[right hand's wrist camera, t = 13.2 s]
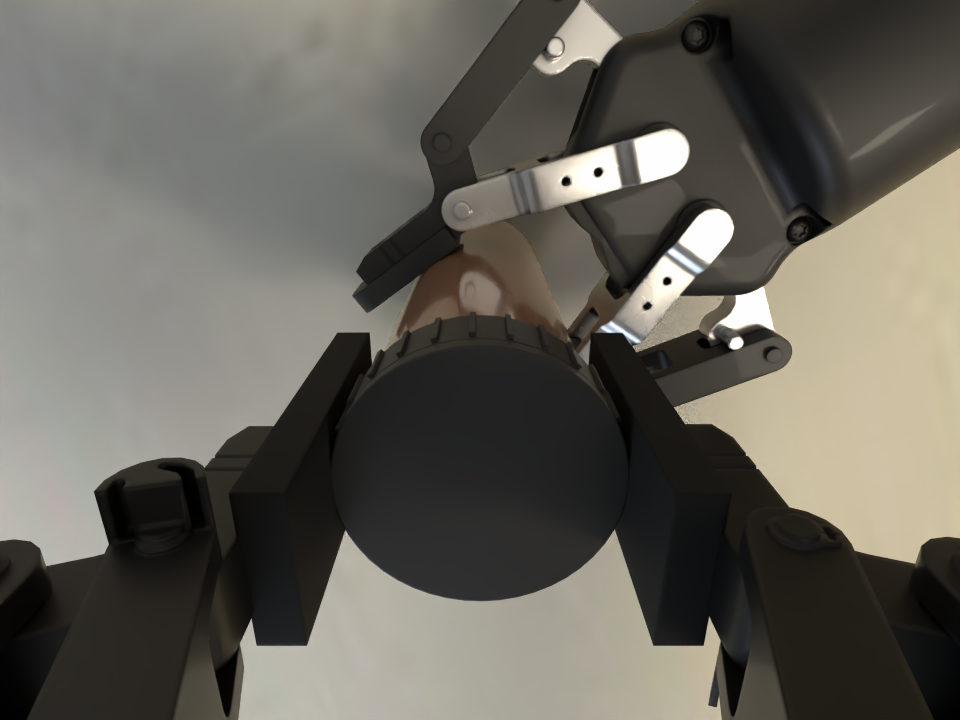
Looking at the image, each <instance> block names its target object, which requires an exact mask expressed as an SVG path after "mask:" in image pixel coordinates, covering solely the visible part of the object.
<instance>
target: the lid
mask: <svg viewBox="0 0 960 720" xmlns="http://www.w3.org/2000/svg"><path fill="white" fill-rule="evenodd" d="M346 404H347V405H346V407H345V409H344V411H343V413H342V416H341V418H340V420H339V422H338V424H337V426H336V428H335V431H334V434H337V435H336V438H335V442H334V446H333V450H332V454H331V476H332V485H333V494H334V502H335V507H336V509H337V512H338V515H339V517H340V520H341V522H342V524H343V525H344V527H345V529H346V531H347V533H348V535H349V536H350V537H351V539H352V540H353V541H354V543H355V544H356V546H357V547H358V548H359V549H360V550H361V551H362V552H363V553H364V554H365V556H366V557H367V558H368V559H369V560H370V561H372V562H373V563H374V564H375V565H376V566H378V567H379V568H380V569H381V570H383V571H384V572H386V573H387V574H389V575H390V576H392V577H393V578H395V579H397V580H398V581H400V582H402V583H404V584H406V585H408V586H410V587H413V588H415V589H418V590H421V591H423V592H426V593H429V594H433V595H437V596H441V597H445V598H450V599H457V600H464V601H493V600H503V599H509V598H515V597H520V596H523V595H527V594H530V593H534V592H537V591H539V590H542V589H544V588H547V587H549V586H552V585H554V584H555V583H557V582H559V581H561V580H563V579H565V578H567V577H568V576H570V575H571V574H572V573H574V572H575V571H577V570H578V569H580V568H581V567H582V566H583V565H584V564H586V563H587V562H588V561H589V560H590V559H591V558H592V557H594V555H595V554H596V553H597V552H598V551H599V550H600V549H601V548H602V546H603V545H604V544H605V543H606V541H607V540H608V538H609V537H610V535H611V534H612V532H613V531H614V529H615V527H616V525H617V523H618V521H619V519H620V517H621V514H622V511H623V508H624V505H625V502H626V497H627V488H628V479H629V458H628V451H627V447H626V443H625V440H624V437H623V433H622V431H621V429H620V426H619V424H618V423H619V422H622V420H621V417H620V415H619V413H618V411H617V409H616V407H615V405H614V403H613V400H612V398H611V396H610V394H609V392H608V390H607V391H606V390H605V388H604V386H603V384H602V382H601V379H600V377H599V375H598V373H597V371H596V369H595V367H594V366H593V364H590V365H589V366H588V364H587V363H586V362H585V361H584V360H583V359H582V358H581V357H580V356H579V354H578V353H577V352H576V351H575V348H574V346H573V344H572V343H571V342H570V341H568V342H567V343H565V342H564V341H562V340H560V339H559V338H557V337H556V336H554V335H552V334H551V333H549V332H547V331H546V330H545V327H544V326H543V325H541V324H539V325H538V327H536V326H534V325H532V324H529V323H526V322H522V321H519V320H516V319H512V318H511V315H510V314H505V317H500V316H489V315H476V312H470V316H459V317H454V318H449V319H444V320H441V317H438V318H435V321H434V323H431V324H428V325H425V326H423V327H421V328H419V329H417V330H415V331H413V332H411V333H410V331H409V330H407V331H405V332H404V333H403V335H402V338H401V339H399V340H398V341H396V342H395V343H394V344H392V345H391V346H390V347H389V348H388V349H387V350H386V351H383V350H382V349H381V350H380V351H378V353H377V355H376V357H375V359H374V361H373V364H372V366H371V367H370V368H369V369H368V371H367V373H366V374H365V376H364V375H362V374H360V375H359V377H358V379H357V381H356V383H355V385H354V388H353V390H352V392H351V394H350V396H349V398H348V400H347V402H346Z"/></svg>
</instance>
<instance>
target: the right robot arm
mask: <svg viewBox="0 0 960 720" xmlns="http://www.w3.org/2000/svg"><path fill="white" fill-rule="evenodd" d="M590 364H593V366H594V367H595V369H596V371H597V373H598V375H599V377H600V379H601V382H602V384H603V386H604V388H605V390H606V391H607V390H608V392H609V394H610V396H611V398H612V400H613V403H614V405H615V407H616V409H617V411H618V413H619V415H620V417H621V420H622V422H619V423H618V424H619V426H620V429H621V431H622V433H623V437H624V440H625V443H626V447H627V451H628V458H629V479H628V488H627V497H626V502H625V505H624V508H623V511H622V514H621V517H620V519H619V521H618V523H617V525H616V527H615V531H616V534H617V537H618V540H619V543H620V546H621V549H622V552H623V555H624V558H625V561H626V564H627V567H628V570H629V573H630V576H631V579H632V582H633V585H634V588H635V591H636V594H637V597H638V600H639V603H640V606H641V609H642V612H643V615H644V618H645V621H646V625H647V628H648V631H649V634H650V637H651V640H652V643H653V646H704V641H705V635H706V630H707V625H708V619H709V616H710V618H711V621H712V623H713V625H714V627H715V629H716V631H717V634H718V636H719V638H720V640H721V642H720V647H719V652H718V657H717V662H716V667H715V672H714V677H713V682H712V687H711V692H710V698H709V706H713V707H717V702H718V697H720V706H721V715H722V720H960V538H952V537H942V538H934V539H930V540H929V541H927V542H926V543H925V544H923V545H922V546H921V549H920V552H919V555H918V558H917V560H916V563H915V564H913V563H908V562H903V561H898V560H893V559H888V558H883V557H879V556H874V555H869V554H865V553H861V552H857V551H854V548H853V546H852V544H851V543H850V541H849V540H848V539H847V538H846V536H845V535H844V534H843V532H842V531H841V530H839V529H838V528H836V527H835V526H834V525H832V524H831V523H829V522H828V521H827V520H825V519H822V518H820V517H818V516H816V515H813V514H811V513H809V512H806V511H802V510H798V509H794V508H790V507H789V506H788V505H787V504H786V503H785V501H784V500H783V499H782V498H781V496H780V495H779V494H778V493H777V491H776V490H775V489H774V488H773V486H772V485H771V484H770V483H769V481H768V480H767V479H766V478H765V476H764V475H763V474H762V473H761V471H760V470H759V469H756V465H755V464H754V463H753V462H752V460H751V459H750V458H749V457H748V456H746V453H745V452H744V450H743V449H742V448H741V447H740V445H739V444H738V443H737V442H736V440H735V439H734V438H733V437H731V436H730V435H728V434H727V433H725V432H723V431H722V430H720V429H719V428H717V427H715V426H714V425H712V424H685V423H684V422H683V420H682V419H681V418H680V416H679V415H678V413H677V412H676V410H675V409H674V407H673V406H672V404H671V403H670V401H669V400H668V398H667V397H666V395H665V394H664V393H663V391H662V390H661V388H660V387H659V385H658V384H657V382H656V381H655V379H654V378H653V376H652V375H651V373H650V372H649V370H648V369H647V368H646V366H645V365H644V363H643V362H642V360H641V359H640V357H639V356H638V354H637V353H636V351H635V350H634V348H633V347H632V346H631V344H630V343H629V341H628V340H627V338H626V337H625V335H624V334H623V333H591V337H590V350H589V364H588V366H589V365H590ZM371 366H372V359H371V346H370V333H337V334H336V336H335V337H334V339H333V340H332V342H331V343H330V345H329V346H328V348H327V349H326V350H325V352H324V353H323V355H322V356H321V358H320V359H319V361H318V362H317V364H316V365H315V367H314V368H313V370H312V371H311V373H310V374H309V375H308V377H307V378H306V380H305V381H304V383H303V384H302V386H301V387H300V389H299V390H298V392H297V393H296V395H295V396H294V397H293V399H292V400H291V402H290V403H289V405H288V406H287V408H286V409H285V411H284V412H283V414H282V415H281V417H280V418H279V420H278V421H277V422H276V424H275V425H274V426H248V427H247V428H245V429H244V430H242V431H240V432H239V433H237V434H236V435H234V436H232V437H231V438H229V439H228V440H227V441H226V442H225V443H224V445H223V446H222V447H221V448H220V450H219V451H218V452H217V453H216V455H215V458H212V460H211V461H210V462H209V463H208V465H207V466H206V467H205V468H204V467H203V466H202V465H201V464H199V463H198V462H197V461H195V460H190V459H185V458H161V459H156V460H151V461H147V462H142V463H139V464H136V465H134V466H131V467H128V468H126V469H123V470H121V471H119V472H117V473H116V474H114V475H112V476H111V477H109V478H107V479H106V480H104V481H103V482H102V484H101V485H100V486H99V487H98V488H97V489H96V490H95V491H94V494H95V497H96V501H97V504H98V508H99V511H100V515H101V518H102V522H103V525H104V528H105V532H106V535H107V539H108V542H109V545H108V547H107V550H106V552H105V554H102V555H98V556H94V557H90V558H85V559H80V560H75V561H70V562H65V563H60V564H55V565H50V566H46V565H45V562H44V559H43V556H42V553H41V550H40V548H39V547H37V546H36V545H35V544H33V543H32V542H30V541H22V540H6V541H0V720H238V716H239V708H240V699H241V690H242V682H243V673H244V664H243V658H242V652H241V647H240V642H241V640H242V637H243V635H244V633H245V631H246V629H247V627H248V624H249V622H250V620H251V618H252V623H253V628H254V633H255V639H256V644H257V646H307V644H308V641H309V638H310V635H311V632H312V629H313V626H314V623H315V620H316V617H317V614H318V610H319V607H320V604H321V601H322V598H323V595H324V592H325V589H326V586H327V583H328V580H329V577H330V574H331V571H332V568H333V565H334V562H335V559H336V556H337V553H338V550H339V547H340V544H341V541H342V538H343V535H344V532H345V527H344V525H343V524H342V522H341V520H340V517H339V515H338V512H337V509H336V507H335V502H334V494H333V485H332V476H331V454H332V450H333V446H334V442H335V438H336V435H337V434H334V431H335V428H336V426H337V424H338V422H339V420H340V418H341V416H342V413H343V411H344V409H345V407H346V405H347V404H346V402H347V400H348V398H349V396H350V394H351V392H352V390H353V388H354V385H355V383H356V381H357V379H358V377H359V375H360V374H362V375H364V376H365V374H366V373H367V371H368V369H369V368H370V367H371Z"/></svg>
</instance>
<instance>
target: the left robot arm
mask: <svg viewBox="0 0 960 720" xmlns="http://www.w3.org/2000/svg"><path fill="white" fill-rule="evenodd" d="M573 63H585V64H588V65H590V66H591V67H592V68H593V72H592V75H591V78H590V80H589V83H588V86H587V89H586V92H585V95H584V97H583V100H582V103H581V106H580V109H579V112H578V114H577V117H576V120H575V123H574V126H573V129H572V131H571V134H570V137H569V140H568V143H567V146H566V148H565V149H562V150H559V151H555V152H552V153H549V154H545V155H542V156H539V157H535V158H532V159H529V160H526V161H522V162H519V163H516V164H514V165H512V166H509V167H506V168H503V169H500V170H497V171H493V172H490V173H487V174H484V175H480V176H477V177H476V173H475V170H474V166H473V163H472V159H471V155H470V152H469V148H468V146H469V144H470V143H471V142H472V141H473V139H474V138H475V137H476V135H477V134H478V133H479V132H480V130H481V129H482V128H483V126H484V125H485V124H486V123H487V121H488V120H489V119H490V118H491V116H492V115H493V114H494V112H495V111H496V110H497V109H498V107H499V106H500V105H501V103H502V102H503V101H504V100H505V98H506V97H507V96H508V95H509V93H510V92H511V91H512V89H513V88H514V87H515V86H516V84H517V83H518V82H519V81H520V79H521V78H522V77H523V75H524V74H525V73H526V72H527V70H528V69H529V68H530V67H531V68H532V69H533V70H534V71H535V72H536V73H537V74H539V75H541V76H544V77H552V76H555V75H557V74H559V73H561V72H562V71H564V70H565V69H566V68H567V67H568V66H569V65H571V64H573ZM421 148H422V151H423V153H424V155H425V157H426V159H427V162H428V165H429V168H430V172H431V175H432V178H433V182H434V188H435V191H434V197H433V200H432V202H431V203H430V204H429V205H428V206H426V207H425V208H424V209H423V210H421V211H420V212H419V213H417V214H416V215H415V216H413V217H412V218H411V219H410V220H408V221H407V222H406V223H404V224H403V225H402V226H400V227H399V228H398V229H397V230H395V231H394V232H393V233H391V234H390V235H389V236H387V237H386V238H385V239H384V240H382V241H381V242H380V243H378V244H377V245H376V246H374V247H373V248H372V249H371V250H370V251H369V252H368V254H367V255H366V256H365V257H364V259H363V261H362V262H361V264H360V266H359V268H358V270H357V271H356V272H357V273H358V275H359V276H360V277H361V278H362V280H363V281H364V282H362V283H361V285H360V286H359V287H358V288H357V290H356V291H355V292H354V294H353V295H352V296H353V297H354V298H355V300H356V301H357V302H358V303H359V304H360V306H361V307H362V308H363V309H364V310H365V312H366V313H368V312H370V311H372V310H373V309H374V308H376V307H377V306H379V305H380V304H381V303H383V302H384V301H385V300H387V299H388V298H389V297H391V296H392V295H393V294H395V293H396V292H398V291H399V290H400V289H402V288H403V287H404V286H406V285H407V284H408V283H410V282H411V281H412V280H414V279H415V278H416V277H418V276H419V275H421V274H422V273H423V272H425V271H426V270H427V269H428V268H429V267H431V266H432V265H434V264H435V263H436V262H438V261H439V260H441V259H442V258H444V257H445V256H446V255H448V254H449V253H450V252H452V251H453V250H454V249H456V248H457V247H458V246H459V244H460V239H461V235H462V234H463V233H464V232H466V231H468V230H472V229H475V228H479V227H482V226H485V225H489V224H492V223H496V222H499V221H502V220H506V219H509V218H513V217H516V216H520V215H524V214H534V213H539V212H543V211H546V210H550V209H553V208H557V207H560V206H563V205H564V207H565V208H566V210H567V211H568V213H569V214H570V216H571V217H572V218H573V219H574V220H575V221H576V222H577V223H578V224H579V225H580V226H581V227H582V228H583V229H584V230H585V231H587V232H588V233H589V234H590V236H591V239H592V242H593V245H594V249H595V252H596V255H597V257H598V258H599V260H600V261H601V263H602V264H603V266H604V267H605V269H606V270H607V271H606V273H605V274H604V275H603V277H602V278H601V279H600V281H599V282H598V283H597V285H596V286H595V287H594V289H593V290H592V292H591V294H590V296H589V299H588V302H587V304H586V306H585V308H584V309H583V310H582V311H581V313H580V314H579V315H578V317H577V318H576V319H575V321H574V322H573V323H572V325H571V326H570V327H569V329H568V330H567V332H568V334H569V337H570V339H571V341H572V344H573V346H574V348H575V351H576V352H577V353H578V354H579V356H580V357H581V358H582V359H583V360H584V361H585V362H586V363H587V364H589V350H590V337H591V333H623V334H624V335H625V337H626V338H627V340H628V341H629V343H630V344H631V346H633V345H637V344H639V343H641V342H642V341H643V340H644V339H645V338H646V337H647V336H648V334H649V333H650V332H651V331H652V329H653V328H654V327H655V326H656V324H657V323H658V322H659V321H660V320H661V318H662V317H663V316H664V315H665V313H666V312H667V311H668V310H669V309H670V307H671V306H672V305H673V304H674V302H675V301H676V300H677V299H678V298H679V296H724V299H723V301H722V303H721V304H720V306H719V307H718V308H717V309H715V310H714V311H712V312H710V313H708V314H707V315H706V316H704V318H703V319H702V321H701V323H700V326H699V330H696V331H693V332H691V333H688V334H685V335H682V336H680V337H677V338H674V339H672V340H669V341H666V342H664V343H661V344H658V345H656V346H653V347H650V348H648V349H645V350H642V351H639V352H637V354H638V356H639V357H640V359H641V360H642V362H643V363H644V365H645V366H646V368H647V369H648V370H649V372H650V373H651V375H652V376H653V378H654V379H655V381H656V382H657V384H658V385H659V387H660V388H661V390H662V391H663V393H664V394H665V395H666V397H667V398H668V400H669V401H670V403H671V404H672V406H673V407H676V406H679V405H682V404H684V403H687V402H690V401H693V400H696V399H699V398H701V397H704V396H707V395H710V394H713V393H715V392H718V391H721V390H724V389H727V388H729V387H732V386H735V385H738V384H741V383H744V382H746V381H749V380H752V379H755V378H758V377H760V376H763V375H766V374H769V373H772V372H775V371H777V370H780V369H781V368H783V367H784V366H785V365H786V364H787V363H788V362H789V360H790V358H791V355H792V347H791V345H790V343H789V342H788V341H787V340H786V339H785V338H783V337H782V336H780V335H779V334H778V333H777V332H776V331H775V330H774V327H773V323H772V319H771V315H770V311H769V307H768V303H767V298H766V294H765V290H764V285H766V284H767V283H768V282H769V281H770V280H771V279H772V277H773V276H774V274H775V273H776V271H777V270H778V268H779V267H780V265H781V264H782V262H783V261H784V260H785V259H786V258H787V256H788V255H789V254H790V253H791V252H792V251H793V250H794V249H796V248H797V247H798V246H800V245H801V244H803V243H805V242H807V241H809V240H811V239H813V238H815V237H817V236H819V235H821V234H823V233H825V232H827V231H829V230H831V229H833V228H835V227H837V226H838V225H840V224H842V223H843V222H845V221H846V220H848V219H849V218H851V217H853V216H854V215H856V214H857V213H859V212H860V211H862V210H864V209H865V208H867V207H868V206H870V205H871V204H873V203H874V202H876V201H878V200H879V199H881V198H882V197H884V196H885V195H887V194H889V193H890V192H892V191H893V190H895V189H896V188H898V187H900V186H901V185H903V184H904V183H906V182H907V181H909V180H910V179H912V178H914V177H915V176H917V175H918V174H920V173H921V172H923V171H925V170H926V169H928V168H929V167H931V166H932V165H934V164H936V163H937V162H939V161H940V160H942V159H943V158H945V157H946V156H948V155H950V154H951V153H953V152H954V151H956V150H957V149H959V148H960V0H701V1H699V2H698V3H697V4H695V5H694V6H693V7H692V8H690V9H689V10H688V11H686V12H685V13H684V14H682V15H681V16H680V17H678V18H677V19H676V20H675V21H673V22H672V23H670V24H669V25H667V26H666V27H665V28H662V29H660V30H656V31H652V32H646V33H638V34H633V35H630V36H628V37H625V38H622V37H621V36H620V35H619V33H618V32H617V31H616V30H615V29H614V28H613V27H612V26H611V25H610V24H609V23H608V22H607V21H606V20H605V19H604V18H603V17H602V16H601V15H600V14H599V13H598V12H597V11H596V10H595V9H594V8H593V7H592V6H591V5H590V4H589V3H588V2H587V1H586V0H521V1H520V2H519V4H518V5H517V6H516V8H515V9H514V10H513V12H512V13H511V14H510V16H509V17H508V18H507V20H506V21H505V22H504V24H503V25H502V26H501V28H500V29H499V30H498V32H497V33H496V34H495V36H494V37H493V38H492V40H491V41H490V42H489V44H488V45H487V46H486V48H485V49H484V50H483V52H482V53H481V54H480V56H479V57H478V58H477V60H476V61H475V62H474V64H473V65H472V66H471V68H470V69H469V70H468V72H467V73H466V74H465V76H464V77H463V78H462V80H461V81H460V82H459V84H458V85H457V86H456V88H455V89H454V90H453V92H452V93H451V94H450V96H449V97H448V98H447V100H446V101H445V102H444V104H443V105H442V106H441V108H440V109H439V110H438V112H437V113H436V114H435V116H434V117H433V118H432V120H431V121H430V122H429V124H428V125H427V126H426V128H425V129H424V131H423V133H422V136H421ZM646 302H647V303H646ZM644 303H646V304H645V305H644Z"/></svg>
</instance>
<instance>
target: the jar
mask: <svg viewBox="0 0 960 720" xmlns="http://www.w3.org/2000/svg"><path fill="white" fill-rule="evenodd" d="M470 312H476V315H489V316H500V317H505V314H510V315H511V318H512V319H516V320H519V321H522V322H526V323H529V324H532V325H534V326H536V327H538V325H539V324H541V325H543V326H544V327H545V330H546V331H547V332H549V333H551V334H552V335H554V336H556V337H557V338H559V339H560V340H562V341H564V342H565V343H567V342H568V341H570V342H571V343H572V341H571V339H570V337H569V334H568V332H567V329H566V327H565V325H564V322H563V320H562V317H561V315H560V313H559V310H558V308H557V306H556V303H555V301H554V298H553V296H552V294H551V291H550V289H549V286H548V284H547V282H546V279H545V277H544V274H543V272H542V270H541V267H540V265H539V262H538V260H537V258H536V255H535V253H534V251H533V249H532V246H531V244H530V243H529V241H528V240H527V238H526V237H525V236H524V235H523V234H522V233H521V231H519V230H518V229H517V228H516V227H515V226H513V225H511V224H510V223H508V222H506V221H504V220H502V221H499V222H496V223H492V224H489V225H485V226H482V227H479V228H475V229H472V230H468V231H466V232H464V233H463V234H462V235H461V239H460V244H459V246H458V247H457V248H456V249H454V250H453V251H452V252H450V253H449V254H448V255H446V256H445V257H444V258H442V259H441V260H439V261H438V262H436V263H435V264H434V265H432V266H431V267H429V268H428V269H427V270H426V271H425V272H423V273H422V274H421V275H419V276H418V277H416V278H415V280H414V282H413V285H412V287H411V290H410V292H409V294H408V297H407V299H406V301H405V304H404V306H403V309H402V311H401V313H400V316H399V318H398V320H397V323H396V325H395V328H394V330H393V332H392V335H391V337H390V339H389V342H388V344H387V347H386V349H385V351H386V350H387V349H388V348H389V347H390V346H391V345H392V344H394V343H395V342H396V341H398V340H399V339H401V338H402V335H403V333H404V332H405V331H407V330H409V331H410V333H411V332H413V331H415V330H417V329H419V328H421V327H423V326H425V325H428V324H431V323H434V321H435V318H438V317H441V320H444V319H449V318H454V317H459V316H470Z"/></svg>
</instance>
